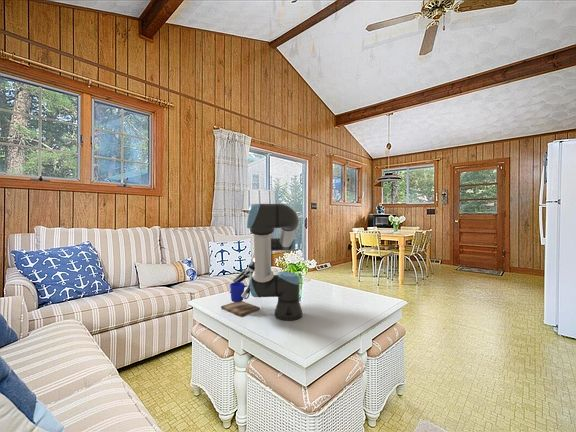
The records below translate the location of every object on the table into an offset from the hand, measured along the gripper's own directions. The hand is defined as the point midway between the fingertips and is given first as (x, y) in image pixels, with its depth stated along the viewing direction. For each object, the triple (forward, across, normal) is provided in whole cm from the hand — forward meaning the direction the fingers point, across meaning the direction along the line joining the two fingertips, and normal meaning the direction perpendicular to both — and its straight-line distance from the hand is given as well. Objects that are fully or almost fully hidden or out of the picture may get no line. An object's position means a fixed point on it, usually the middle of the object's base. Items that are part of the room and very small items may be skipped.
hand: (236, 295), depth 160 cm
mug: (+1, 0, -5) cm, 5 cm away
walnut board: (+4, 0, -8) cm, 9 cm away
